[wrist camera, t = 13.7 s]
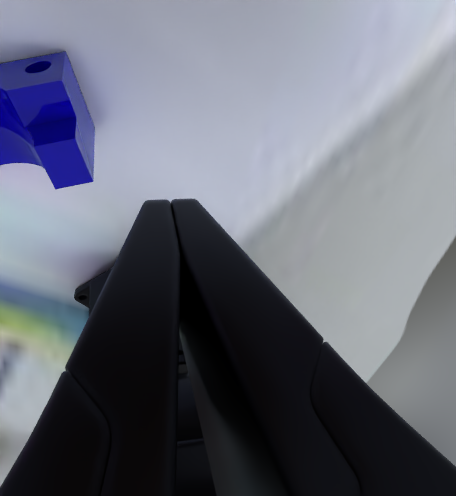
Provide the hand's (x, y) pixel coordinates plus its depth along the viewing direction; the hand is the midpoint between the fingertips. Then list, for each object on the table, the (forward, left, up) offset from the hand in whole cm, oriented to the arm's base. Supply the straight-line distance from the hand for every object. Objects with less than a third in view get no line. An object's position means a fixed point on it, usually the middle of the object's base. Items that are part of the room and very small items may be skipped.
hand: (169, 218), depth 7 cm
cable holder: (0, +8, -13) cm, 16 cm away
